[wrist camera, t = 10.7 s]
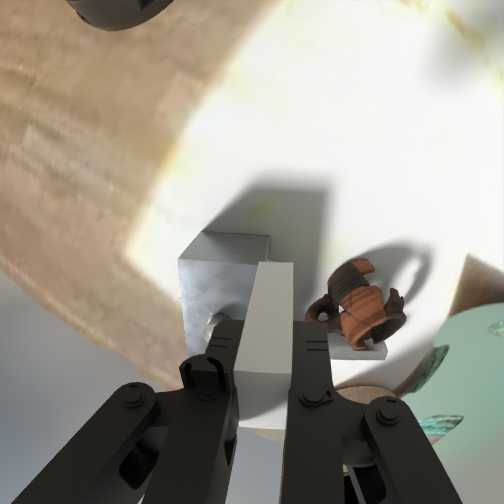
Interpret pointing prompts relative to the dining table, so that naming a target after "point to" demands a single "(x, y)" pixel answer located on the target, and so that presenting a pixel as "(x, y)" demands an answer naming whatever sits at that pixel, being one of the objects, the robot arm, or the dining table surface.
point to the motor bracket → (235, 290)
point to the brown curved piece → (358, 307)
